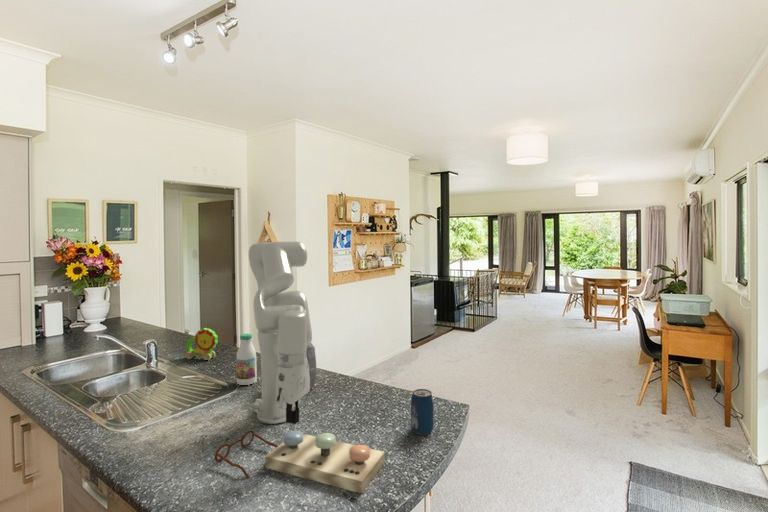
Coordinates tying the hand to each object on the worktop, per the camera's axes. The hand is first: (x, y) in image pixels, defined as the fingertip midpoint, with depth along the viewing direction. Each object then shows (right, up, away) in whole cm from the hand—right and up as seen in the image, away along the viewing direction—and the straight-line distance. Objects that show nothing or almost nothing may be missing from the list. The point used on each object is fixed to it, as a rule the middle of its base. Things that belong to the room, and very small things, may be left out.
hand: (292, 421), depth 111 cm
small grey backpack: (-9, -7, +49) cm, 50 cm away
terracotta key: (+19, -5, -8) cm, 21 cm away
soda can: (+37, -9, +15) cm, 41 cm away
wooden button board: (+10, -10, -4) cm, 14 cm away
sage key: (+10, -4, -5) cm, 11 cm away
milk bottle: (-31, -7, +55) cm, 63 cm away
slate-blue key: (0, -5, -1) cm, 5 cm away
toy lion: (-63, -5, +86) cm, 107 cm away
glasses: (-11, -10, -1) cm, 15 cm away
